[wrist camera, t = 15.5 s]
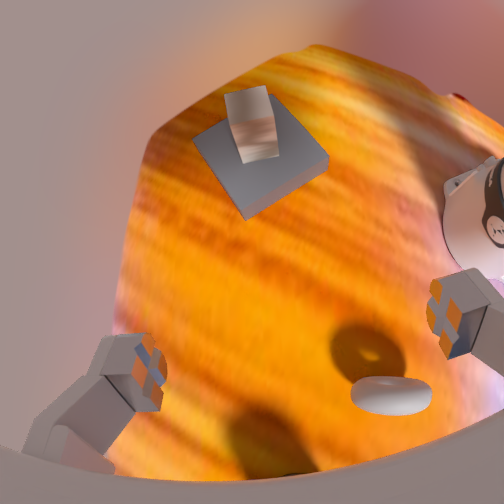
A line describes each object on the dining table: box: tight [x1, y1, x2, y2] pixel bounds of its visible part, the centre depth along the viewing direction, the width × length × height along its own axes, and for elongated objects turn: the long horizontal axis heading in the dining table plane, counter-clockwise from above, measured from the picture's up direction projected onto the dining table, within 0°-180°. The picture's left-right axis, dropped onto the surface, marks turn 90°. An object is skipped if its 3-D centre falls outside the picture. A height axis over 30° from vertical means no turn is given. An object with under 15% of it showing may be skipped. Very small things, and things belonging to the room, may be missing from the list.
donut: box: [351, 376, 432, 415], centre depth 31 cm, size 10×4×10 cm, turn 83°
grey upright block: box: [224, 85, 279, 164], centre depth 38 cm, size 5×5×9 cm
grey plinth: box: [192, 94, 329, 221], centre depth 44 cm, size 14×14×4 cm
